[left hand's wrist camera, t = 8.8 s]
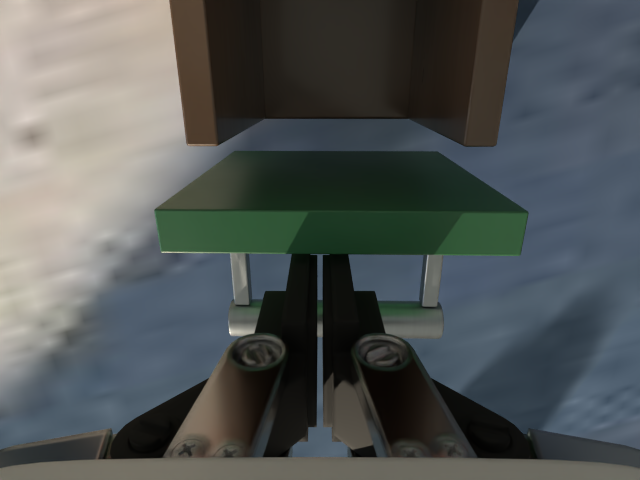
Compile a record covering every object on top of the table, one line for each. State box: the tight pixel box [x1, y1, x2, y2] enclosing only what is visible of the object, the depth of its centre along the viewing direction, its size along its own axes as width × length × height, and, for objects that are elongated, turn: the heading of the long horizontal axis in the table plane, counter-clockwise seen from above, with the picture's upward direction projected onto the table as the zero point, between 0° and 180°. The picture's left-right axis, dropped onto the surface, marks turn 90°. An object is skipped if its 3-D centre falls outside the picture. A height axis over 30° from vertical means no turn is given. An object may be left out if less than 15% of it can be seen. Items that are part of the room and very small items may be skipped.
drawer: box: [154, 0, 528, 339], centre depth 13 cm, size 22×9×9 cm, turn 0°
